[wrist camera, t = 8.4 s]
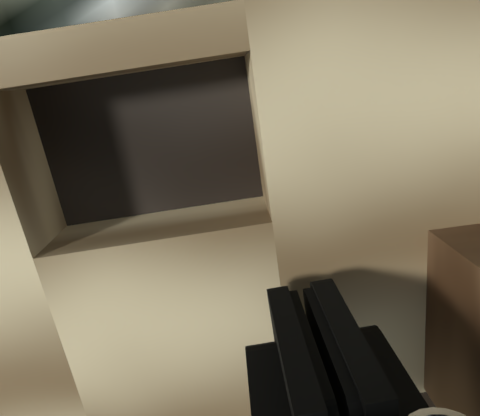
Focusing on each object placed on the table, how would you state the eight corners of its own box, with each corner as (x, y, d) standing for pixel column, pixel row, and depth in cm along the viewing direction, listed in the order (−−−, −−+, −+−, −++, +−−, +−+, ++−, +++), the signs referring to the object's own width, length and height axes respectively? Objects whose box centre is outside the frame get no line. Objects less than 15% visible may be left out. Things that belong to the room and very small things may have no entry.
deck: (-130, 73, 11) (-324, 71, 7) (648, -47, 11) (886, -116, 7) (47, 497, 16) (-9, 630, 12) (575, 417, 16) (688, 527, 12)
